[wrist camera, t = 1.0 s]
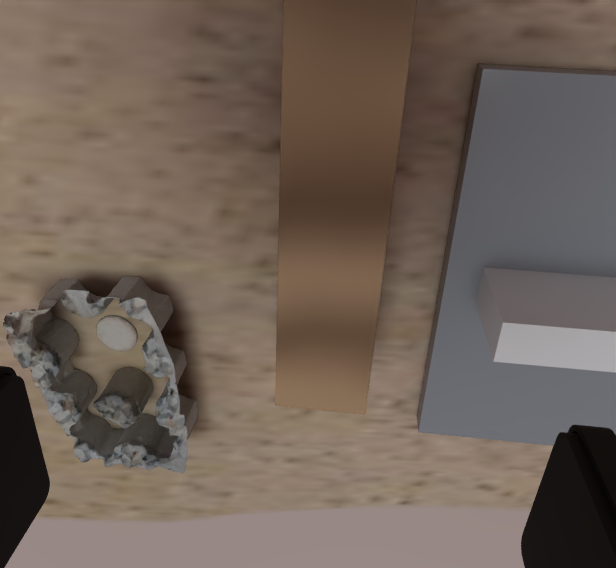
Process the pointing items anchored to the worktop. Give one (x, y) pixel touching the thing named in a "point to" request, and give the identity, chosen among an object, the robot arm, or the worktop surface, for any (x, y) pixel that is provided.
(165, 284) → the worktop surface
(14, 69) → the worktop surface
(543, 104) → the fulcrum board
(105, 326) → the egg carton
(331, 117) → the beam
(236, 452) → the worktop surface
